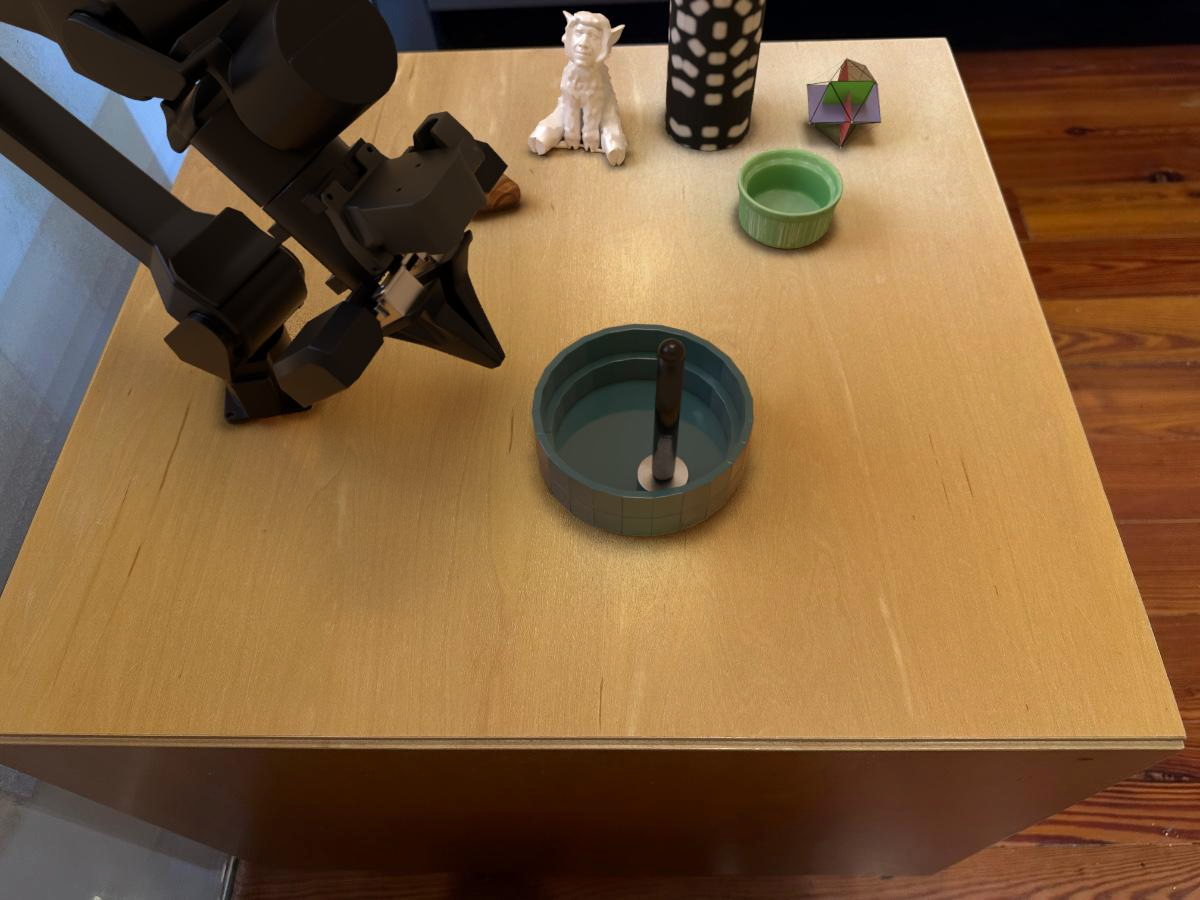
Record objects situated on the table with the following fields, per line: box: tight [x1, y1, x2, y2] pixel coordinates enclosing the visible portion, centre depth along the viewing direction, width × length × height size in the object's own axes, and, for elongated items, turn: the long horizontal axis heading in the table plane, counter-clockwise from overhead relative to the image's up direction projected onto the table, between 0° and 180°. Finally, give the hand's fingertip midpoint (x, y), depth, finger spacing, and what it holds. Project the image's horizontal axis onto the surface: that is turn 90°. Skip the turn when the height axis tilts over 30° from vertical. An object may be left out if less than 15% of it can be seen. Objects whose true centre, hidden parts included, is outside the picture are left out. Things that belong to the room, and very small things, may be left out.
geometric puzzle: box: [806, 57, 883, 149], centre depth 86 cm, size 7×7×8 cm
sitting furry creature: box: [527, 10, 628, 167], centre depth 85 cm, size 10×9×12 cm
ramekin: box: [737, 147, 844, 250], centre depth 80 cm, size 9×9×4 cm
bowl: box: [531, 323, 755, 538], centre depth 65 cm, size 15×15×6 cm
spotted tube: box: [664, 0, 767, 152], centre depth 82 cm, size 8×8×20 cm
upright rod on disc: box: [637, 338, 689, 491], centre depth 58 cm, size 4×4×15 cm
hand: (499, 363), depth 56 cm, fingers closed
